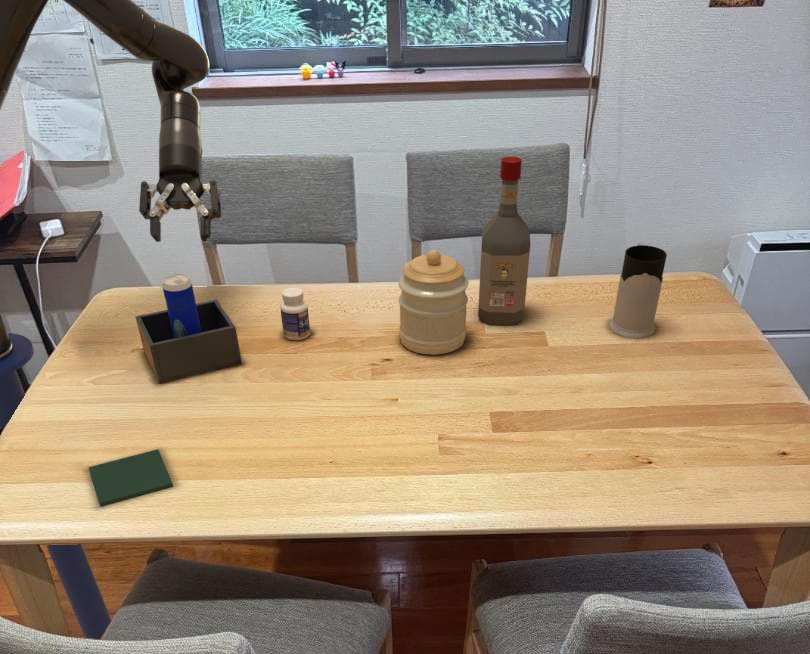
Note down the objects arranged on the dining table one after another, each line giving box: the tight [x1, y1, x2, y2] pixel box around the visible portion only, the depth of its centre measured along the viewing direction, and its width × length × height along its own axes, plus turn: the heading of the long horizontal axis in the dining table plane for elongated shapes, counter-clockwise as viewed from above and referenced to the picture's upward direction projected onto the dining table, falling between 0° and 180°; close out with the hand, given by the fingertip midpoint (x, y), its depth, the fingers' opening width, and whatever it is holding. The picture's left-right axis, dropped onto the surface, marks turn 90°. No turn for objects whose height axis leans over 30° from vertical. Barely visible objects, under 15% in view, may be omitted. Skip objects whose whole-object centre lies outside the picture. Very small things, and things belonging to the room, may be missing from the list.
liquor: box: [477, 156, 531, 326], centre depth 155 cm, size 9×9×30 cm
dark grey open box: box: [135, 299, 243, 384], centre depth 151 cm, size 16×13×8 cm
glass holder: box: [609, 242, 668, 339], centre depth 157 cm, size 9×14×15 cm, turn 173°
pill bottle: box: [279, 287, 311, 341], centre depth 157 cm, size 5×5×9 cm
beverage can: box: [161, 273, 202, 338], centre depth 148 cm, size 5×5×15 cm
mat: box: [88, 448, 174, 507], centre depth 126 cm, size 11×10×1 cm
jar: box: [397, 249, 469, 355], centre depth 152 cm, size 13×13×18 cm
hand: (180, 239), depth 146 cm, fingers open, 8 cm apart
